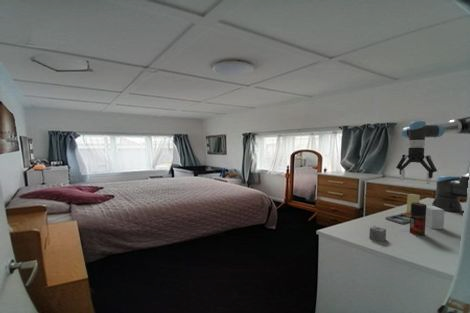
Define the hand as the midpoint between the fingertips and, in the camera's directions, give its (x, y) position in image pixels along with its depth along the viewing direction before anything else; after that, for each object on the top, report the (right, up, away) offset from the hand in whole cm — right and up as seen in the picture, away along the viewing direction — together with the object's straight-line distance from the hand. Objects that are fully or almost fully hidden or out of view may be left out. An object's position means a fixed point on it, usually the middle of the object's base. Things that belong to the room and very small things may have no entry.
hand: (414, 181), depth 135 cm
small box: (-2, -23, -14) cm, 27 cm away
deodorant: (-18, -24, -23) cm, 38 cm away
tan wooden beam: (0, -22, +1) cm, 22 cm away
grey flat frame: (-7, -22, -2) cm, 23 cm away
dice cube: (-43, -24, -30) cm, 57 cm away
